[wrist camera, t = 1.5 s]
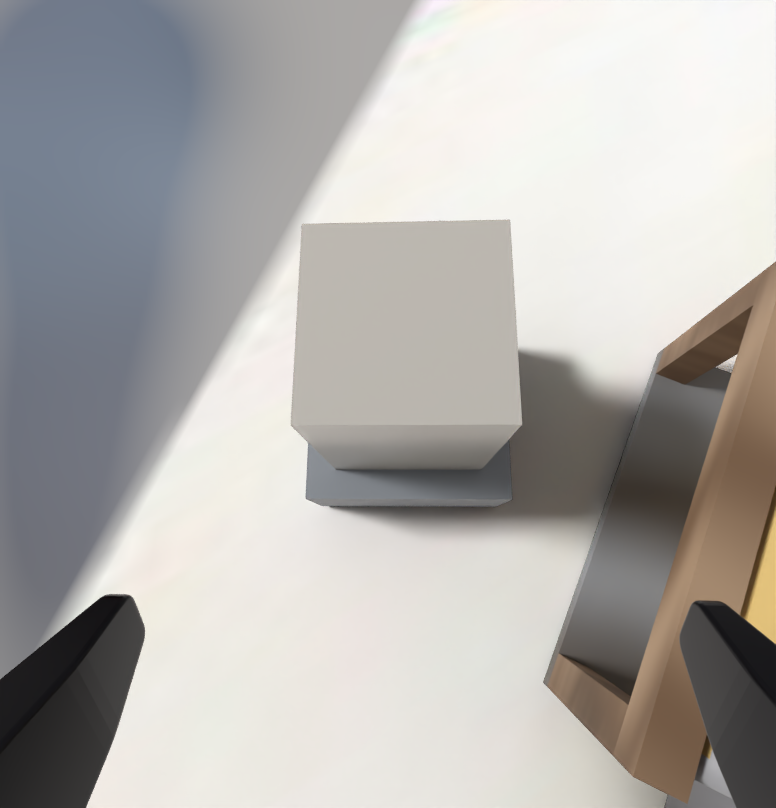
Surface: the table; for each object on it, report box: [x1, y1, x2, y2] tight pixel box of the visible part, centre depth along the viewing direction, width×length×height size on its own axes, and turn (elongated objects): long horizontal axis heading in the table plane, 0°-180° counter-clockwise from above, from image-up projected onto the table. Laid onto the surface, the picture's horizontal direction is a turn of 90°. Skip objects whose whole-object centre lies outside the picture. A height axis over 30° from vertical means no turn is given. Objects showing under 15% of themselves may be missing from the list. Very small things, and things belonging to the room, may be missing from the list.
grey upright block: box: [291, 220, 522, 470], centre depth 15 cm, size 5×5×7 cm
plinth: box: [306, 440, 512, 507], centre depth 21 cm, size 7×7×4 cm
